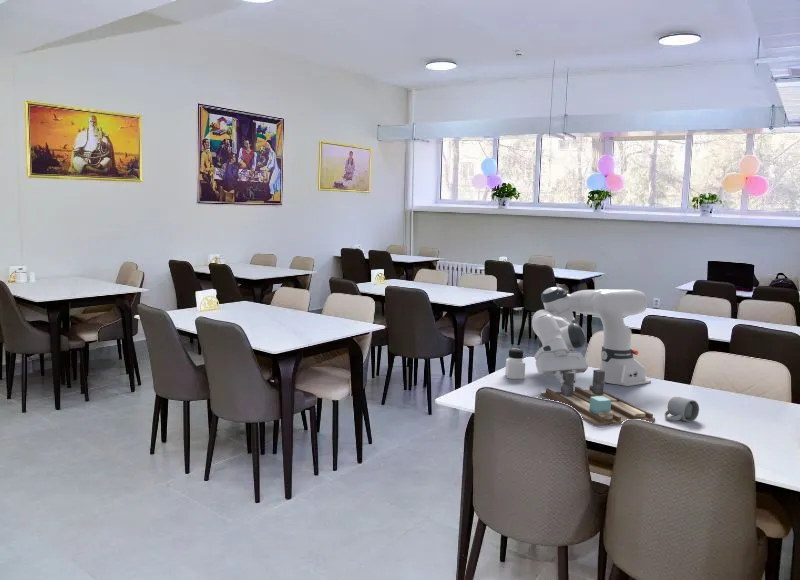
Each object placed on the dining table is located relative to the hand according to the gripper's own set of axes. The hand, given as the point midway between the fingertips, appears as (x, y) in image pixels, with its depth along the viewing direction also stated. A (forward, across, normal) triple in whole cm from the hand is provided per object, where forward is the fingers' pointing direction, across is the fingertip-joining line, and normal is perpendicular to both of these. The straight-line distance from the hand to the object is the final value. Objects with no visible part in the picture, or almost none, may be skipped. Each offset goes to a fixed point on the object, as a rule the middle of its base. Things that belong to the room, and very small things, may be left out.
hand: (568, 382), depth 241 cm
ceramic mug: (+24, -28, +13) cm, 40 cm away
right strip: (+12, 0, +3) cm, 13 cm away
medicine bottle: (-20, +3, -31) cm, 38 cm away
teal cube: (+18, 0, +10) cm, 21 cm away
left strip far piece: (+17, -13, +8) cm, 23 cm away
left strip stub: (+7, -13, -2) cm, 15 cm away
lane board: (+11, -6, +1) cm, 13 cm away
